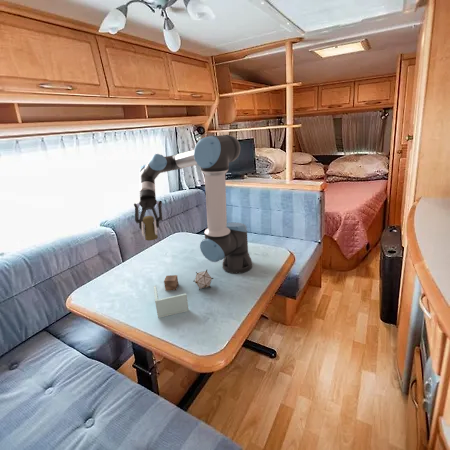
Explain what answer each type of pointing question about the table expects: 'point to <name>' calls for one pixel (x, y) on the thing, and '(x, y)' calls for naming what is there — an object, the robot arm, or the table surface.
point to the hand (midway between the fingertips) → (149, 234)
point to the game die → (203, 279)
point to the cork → (149, 228)
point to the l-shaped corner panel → (170, 304)
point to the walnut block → (171, 282)
